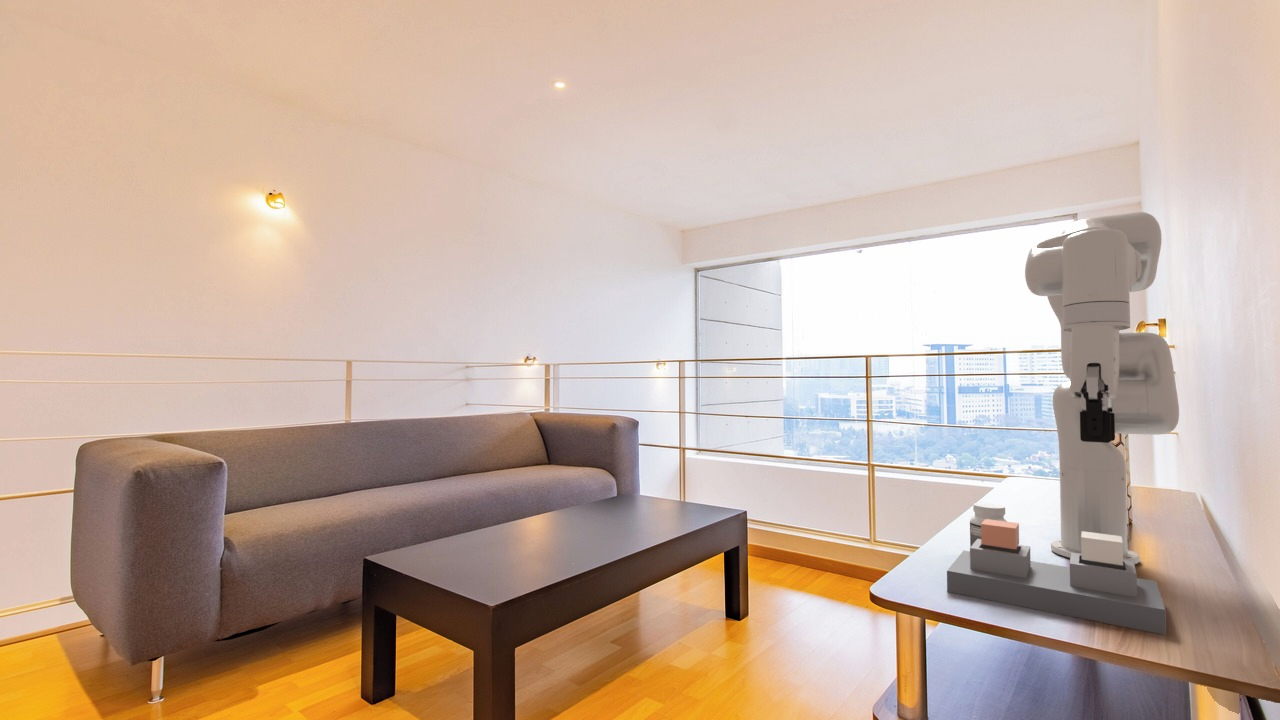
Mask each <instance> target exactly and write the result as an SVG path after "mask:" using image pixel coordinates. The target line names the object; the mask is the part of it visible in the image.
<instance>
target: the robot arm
mask: <svg viewBox="0 0 1280 720" xmlns="http://www.w3.org/2000/svg"><path fill="white" fill-rule="evenodd" d="M1161 229H1162V228H1161V226H1160V224H1159V222H1158V220H1157V219H1156V218H1155V216H1153V215H1152V214H1150V213H1147V212H1144V211H1143V212H1142V211H1136V212H1128V213H1121V214H1119V213H1118V214H1112V215H1106V216H1096V217H1089V218H1084V219H1080V220H1077V221H1074V222H1073V223H1071V224H1070V225H1068V226H1067V227H1066V228H1065V229H1064V230H1063V231H1062V233H1061V235H1058V236H1055V237H1051V238H1048V239H1046V240H1042V241H1039V242H1037V243H1035V244H1034V245H1033V246H1032V247H1031V248H1030V250H1029V252H1028V255H1027V258H1026V263H1025V269H1024V277H1025V278H1024V279H1025V282H1026V286H1027V288H1028V290H1029V291H1030V293H1032V294H1033V295H1036V296H1039V297H1047V300H1048V303H1049V305H1050V308H1051V309H1052V311H1053V312H1054V314H1055V316H1056V319H1057V320H1058V322H1059V325H1060V326H1059V327H1060V355H1061V357H1060V358H1061V365H1062V370H1063V374H1064V375H1065V376H1066V378H1067V379H1069V381H1066V382H1065V381H1064V382H1063V383H1061V384H1060V385H1058V386H1057V387H1056V388H1055V390H1054V391H1053V395H1052V408H1053V415H1054V419H1055V424H1056V431H1057V438H1058V453H1059V454H1058V455H1059V457H1058V458H1059V499H1060V500H1059V502H1060V504H1059V505H1060V507H1059V508H1060V510H1059V511H1060V540H1056V541H1052V542H1051V543H1050V549H1051V551H1052V552H1053V553H1055V554H1057V555H1060V556H1062V557H1065V558H1069V559H1070V557H1071V552H1072V553H1079V554H1082V553H1081V534H1082V531H1084V532H1092V533H1100V534H1108V535H1116V536H1121V537H1122V542H1123V560H1127V561H1133V562H1134V565H1137V564H1138V563H1140V555H1139V554H1138V553H1137V552H1135V551H1133V550H1130V549H1128V548H1129V547H1128V546H1129V545H1128V518H1127V517H1128V513H1127V512H1128V510H1127V509H1128V508H1127V507H1128V506H1127V468H1126V459H1125V456H1124V455H1123V454H1122V451H1121V450H1120V449H1119V448H1118V447H1117V446H1115V445H1114V444H1113V443H1112V442H1114V441H1115V440H1116V434H1124V435H1125V434H1126V435H1144V436H1145V435H1151V436H1155V435H1156V436H1157V435H1159V436H1160V435H1166V434H1169V433H1172V432H1173V431H1174V430H1175V429H1176V428H1177V426H1178V424H1179V419H1180V406H1179V405H1180V404H1179V396H1178V392H1177V385H1176V378H1175V371H1174V365H1173V358H1172V353H1171V349H1170V345H1169V344H1168V342H1167V340H1166V339H1165V338H1164V337H1163V336H1161V335H1160V334H1157V333H1153V332H1143V331H1142V332H1139V331H1138V332H1120V331H1123V330H1128V329H1131V305H1130V303H1131V302H1130V293H1135V292H1141V291H1145V290H1147V289H1149V288H1150V287H1151V286H1152V285H1153V283H1154V281H1155V279H1156V276H1157V271H1158V264H1159V258H1160V254H1161V248H1162V230H1161Z"/></svg>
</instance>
